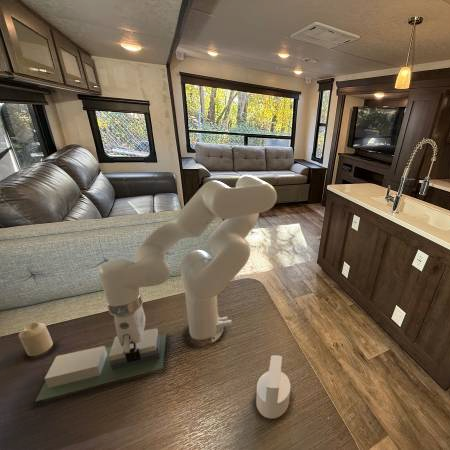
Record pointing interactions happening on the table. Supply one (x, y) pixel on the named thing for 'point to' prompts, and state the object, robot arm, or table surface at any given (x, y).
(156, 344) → the grey book
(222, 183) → the robot arm
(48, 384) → the white book
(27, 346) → the candle
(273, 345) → the table surface
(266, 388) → the base with upright slab
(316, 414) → the table surface
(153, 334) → the white book
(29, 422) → the table surface
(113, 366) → the grey book
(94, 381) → the shelf board
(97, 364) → the white book
